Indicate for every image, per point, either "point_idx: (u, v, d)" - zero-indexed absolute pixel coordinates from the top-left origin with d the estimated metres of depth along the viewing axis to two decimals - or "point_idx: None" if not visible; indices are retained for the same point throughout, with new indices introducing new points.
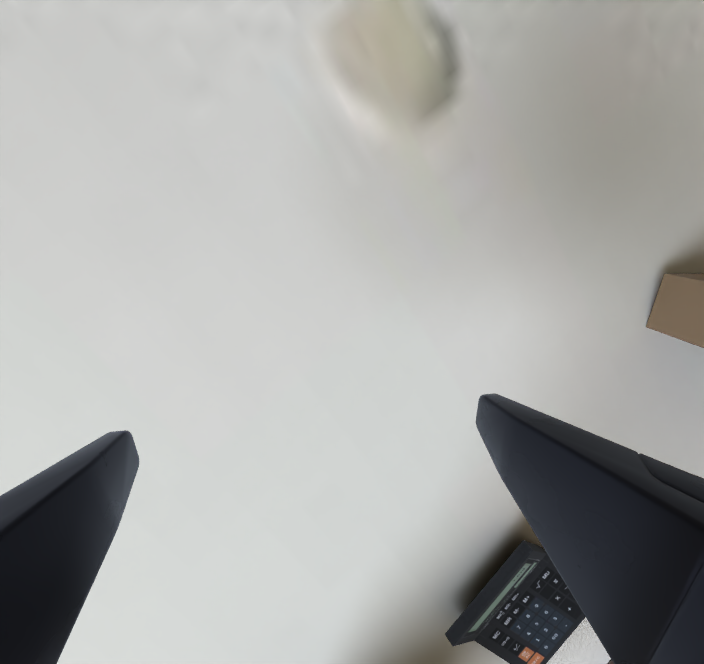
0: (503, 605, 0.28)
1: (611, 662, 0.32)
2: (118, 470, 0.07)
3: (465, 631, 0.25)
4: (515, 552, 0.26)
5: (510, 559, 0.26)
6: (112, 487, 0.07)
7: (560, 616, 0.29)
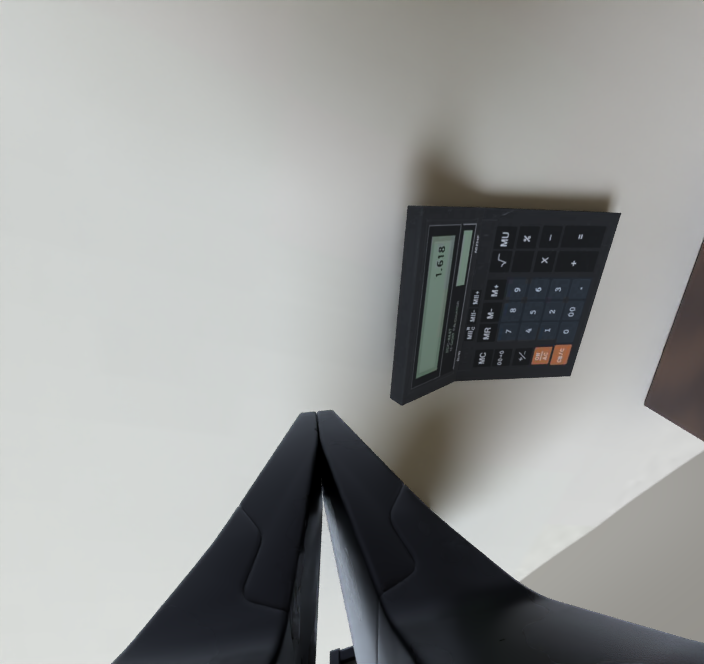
0: (465, 318, 0.18)
1: (686, 294, 0.21)
2: (319, 447, 0.08)
3: (405, 379, 0.17)
4: (407, 232, 0.15)
5: (406, 247, 0.15)
6: (320, 462, 0.08)
7: (564, 281, 0.18)
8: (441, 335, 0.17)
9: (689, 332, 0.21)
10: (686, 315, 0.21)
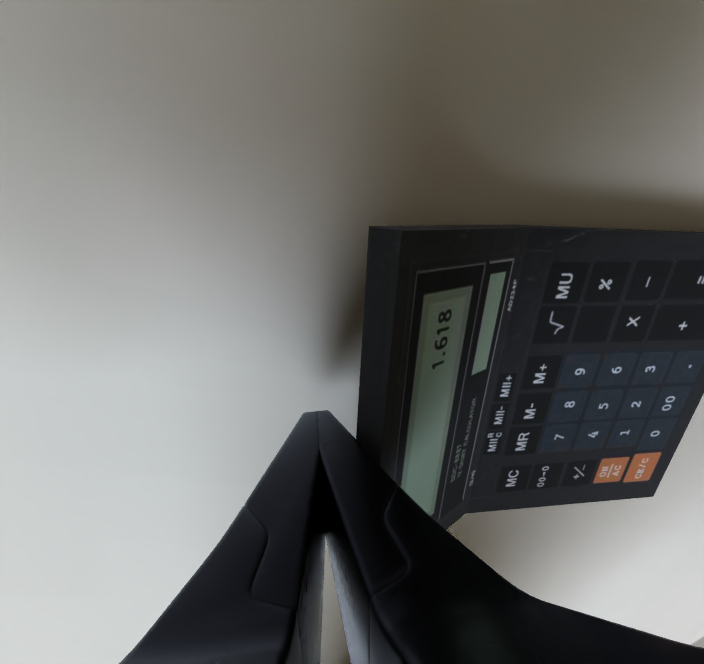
0: (486, 421, 0.10)
1: None
2: None
3: None
4: (369, 284, 0.07)
5: (368, 314, 0.07)
6: None
7: (663, 355, 0.10)
8: (442, 460, 0.09)
9: None
10: None
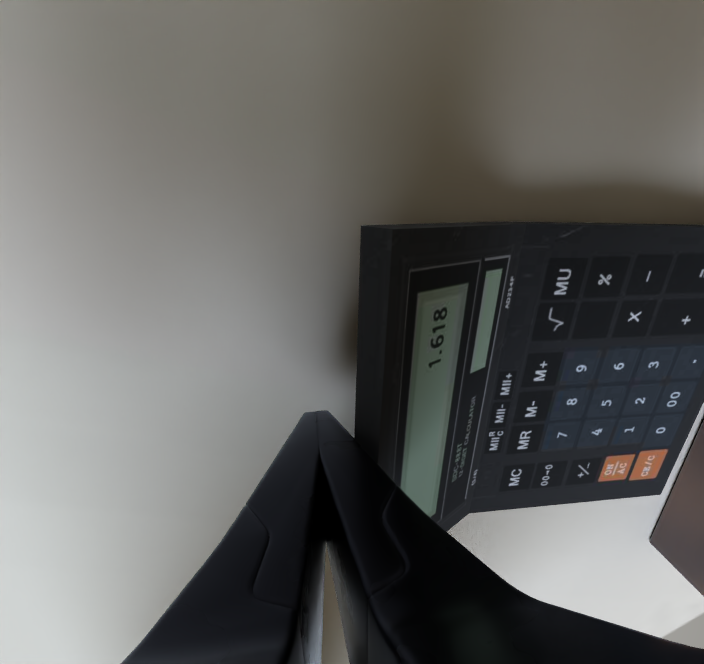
0: (487, 419, 0.10)
1: None
2: None
3: None
4: (363, 283, 0.07)
5: (363, 313, 0.07)
6: None
7: (667, 350, 0.10)
8: (443, 460, 0.09)
9: None
10: None
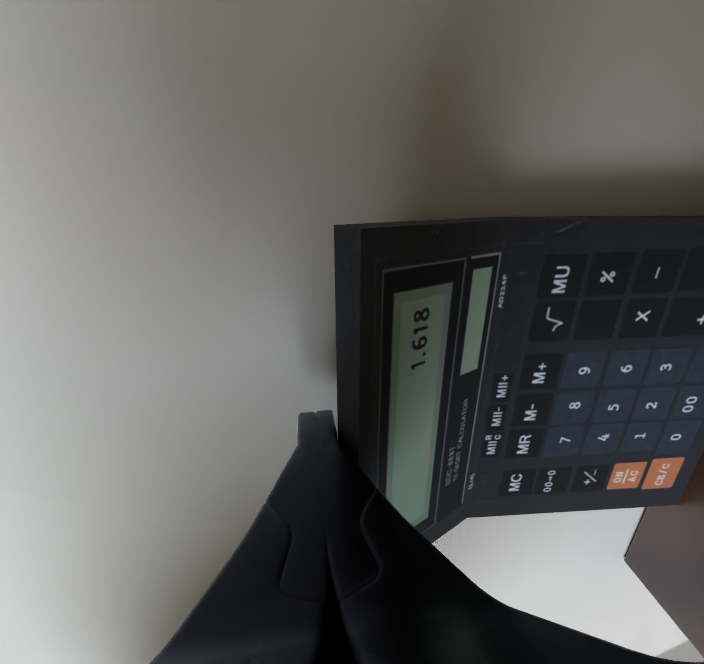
0: (482, 422, 0.10)
1: None
2: None
3: None
4: (338, 284, 0.06)
5: (339, 315, 0.07)
6: None
7: (681, 352, 0.09)
8: (433, 463, 0.09)
9: (703, 466, 0.11)
10: None
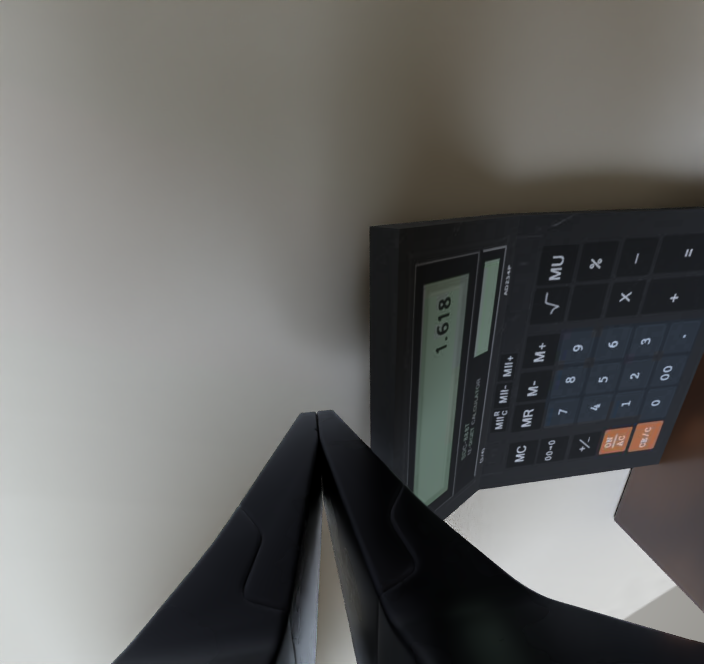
0: (491, 400, 0.11)
1: None
2: (319, 447, 0.08)
3: None
4: (373, 279, 0.07)
5: (374, 306, 0.07)
6: (320, 462, 0.08)
7: (657, 327, 0.11)
8: (452, 439, 0.10)
9: (679, 427, 0.12)
10: None
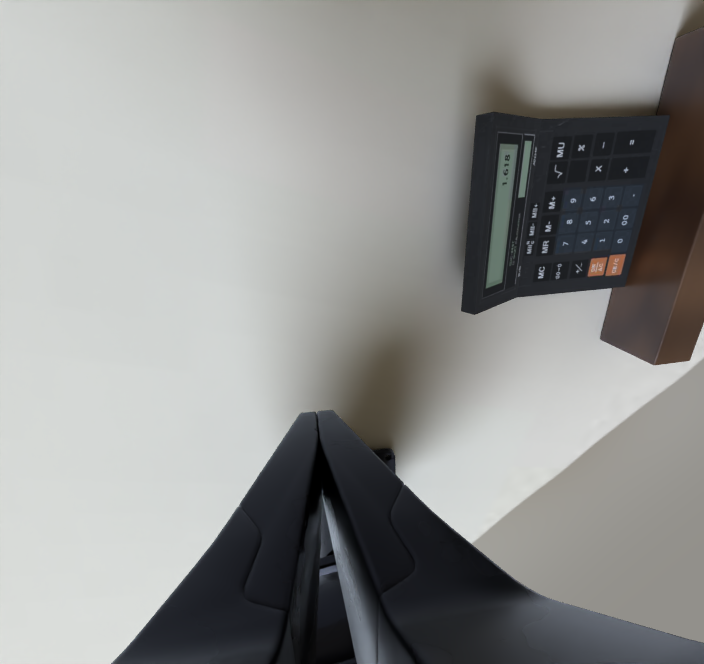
0: (525, 232, 0.19)
1: None
2: (319, 447, 0.08)
3: (477, 288, 0.18)
4: (476, 142, 0.16)
5: (476, 156, 0.16)
6: (320, 462, 0.08)
7: (617, 188, 0.19)
8: (506, 247, 0.18)
9: (635, 258, 0.21)
10: None
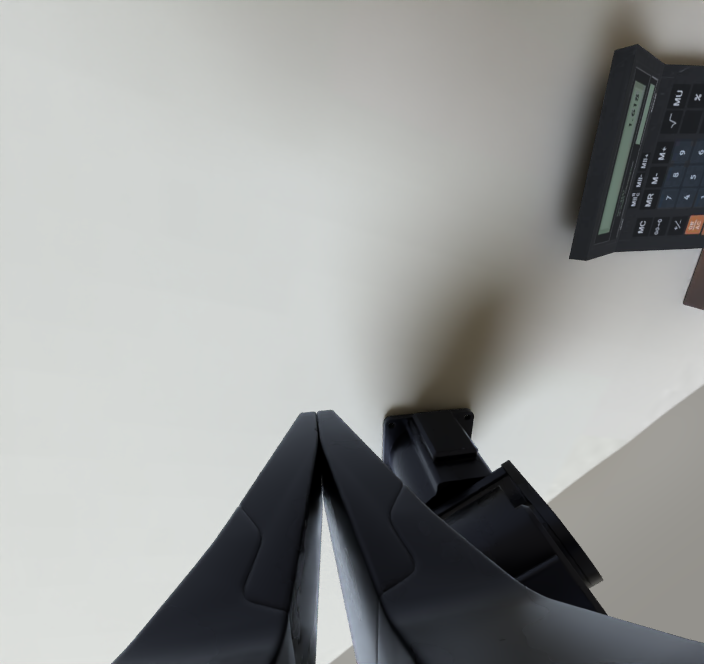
0: (633, 183, 0.19)
1: None
2: (319, 447, 0.08)
3: (593, 232, 0.18)
4: (611, 78, 0.16)
5: (608, 93, 0.16)
6: (319, 462, 0.08)
7: None
8: (618, 194, 0.18)
9: None
10: None
